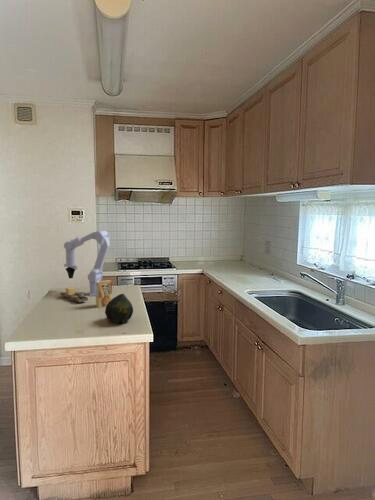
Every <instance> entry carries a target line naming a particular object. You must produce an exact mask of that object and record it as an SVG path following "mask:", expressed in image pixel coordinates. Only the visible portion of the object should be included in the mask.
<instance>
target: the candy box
mask: <svg viewBox="0 0 375 500" xmlns="http://www.w3.org/2000/svg"><path fill="white" fill-rule="evenodd" d="M112 299H113V281H112V280H110V279H109V280H108V279H106V280H101V281H99V282H96V296H95V303H96V304H95V306H96V307H97V308H99V309H100V308H106V306H107V304H108V303H109V302H110V301H111V300H112Z"/></svg>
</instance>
